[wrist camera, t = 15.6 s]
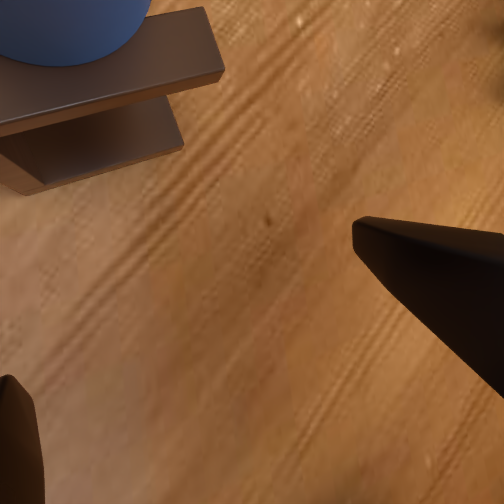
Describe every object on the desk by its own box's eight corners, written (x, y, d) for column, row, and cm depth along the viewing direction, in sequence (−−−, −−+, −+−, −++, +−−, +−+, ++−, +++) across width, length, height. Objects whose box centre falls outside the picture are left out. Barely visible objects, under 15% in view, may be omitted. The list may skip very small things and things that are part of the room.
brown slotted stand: (129, 9, 21) (130, -210, 11) (181, 149, 22) (226, 69, 12) (-42, 39, 18) (-248, -206, 8) (26, 196, 19) (-84, 145, 9)
